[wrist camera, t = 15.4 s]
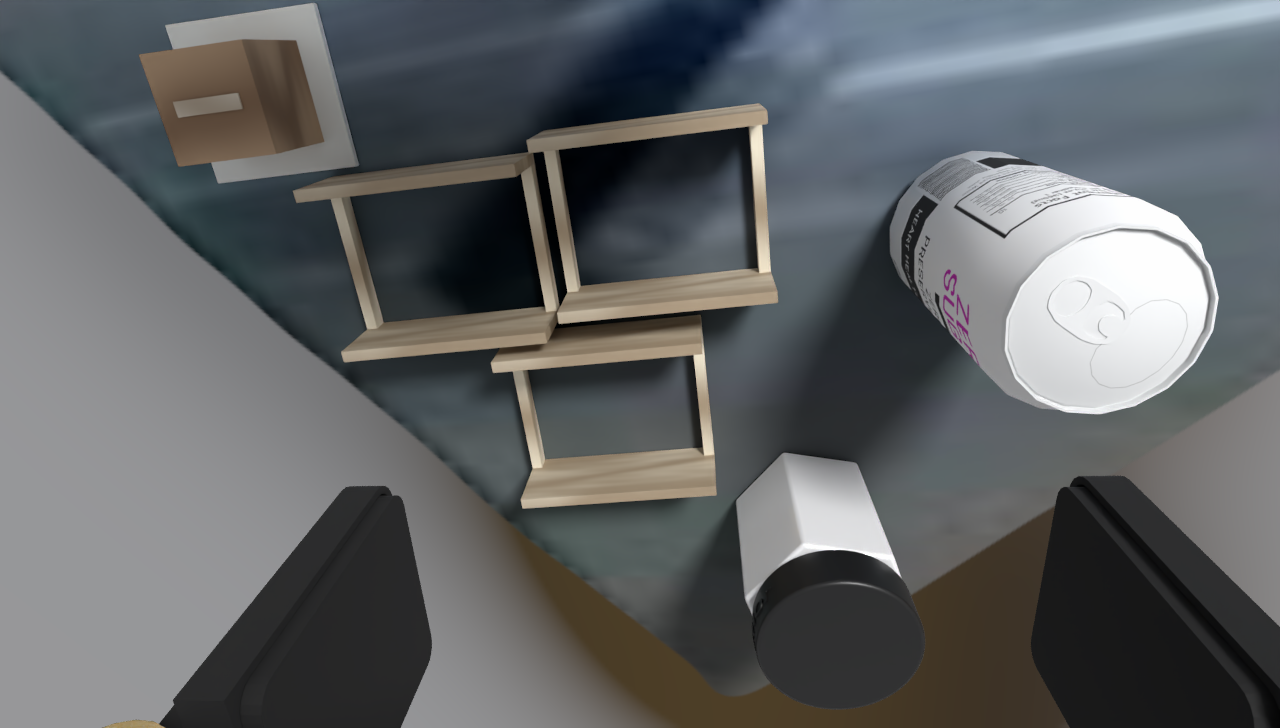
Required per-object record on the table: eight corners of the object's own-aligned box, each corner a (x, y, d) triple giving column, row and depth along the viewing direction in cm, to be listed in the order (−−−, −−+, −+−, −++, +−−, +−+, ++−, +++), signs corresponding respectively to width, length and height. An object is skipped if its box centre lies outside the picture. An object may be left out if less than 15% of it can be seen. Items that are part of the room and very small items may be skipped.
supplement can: (1080, 205, 39) (1292, 291, 25) (970, 328, 42) (1105, 466, 28) (959, 116, 38) (1112, 156, 24) (854, 250, 41) (937, 355, 27)
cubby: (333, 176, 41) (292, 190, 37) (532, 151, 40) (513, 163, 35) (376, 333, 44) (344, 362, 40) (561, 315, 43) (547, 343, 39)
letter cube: (203, 54, 38) (134, 54, 34) (296, 40, 38) (239, 39, 33) (235, 153, 40) (175, 167, 36) (324, 141, 40) (275, 154, 35)
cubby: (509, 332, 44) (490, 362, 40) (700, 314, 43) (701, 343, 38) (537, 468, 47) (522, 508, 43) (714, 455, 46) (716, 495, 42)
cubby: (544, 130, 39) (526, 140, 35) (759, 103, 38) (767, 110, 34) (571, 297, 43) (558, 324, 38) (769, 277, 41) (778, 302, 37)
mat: (170, 25, 38) (164, 25, 38) (316, 3, 37) (312, 3, 37) (222, 182, 41) (218, 183, 41) (359, 165, 40) (356, 166, 40)
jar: (719, 471, 46) (727, 603, 35) (847, 430, 45) (897, 554, 34) (767, 580, 49) (788, 733, 38) (888, 545, 48) (947, 695, 37)
